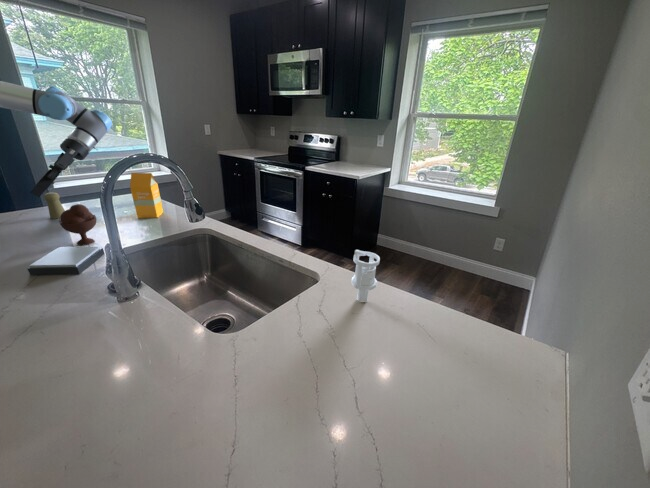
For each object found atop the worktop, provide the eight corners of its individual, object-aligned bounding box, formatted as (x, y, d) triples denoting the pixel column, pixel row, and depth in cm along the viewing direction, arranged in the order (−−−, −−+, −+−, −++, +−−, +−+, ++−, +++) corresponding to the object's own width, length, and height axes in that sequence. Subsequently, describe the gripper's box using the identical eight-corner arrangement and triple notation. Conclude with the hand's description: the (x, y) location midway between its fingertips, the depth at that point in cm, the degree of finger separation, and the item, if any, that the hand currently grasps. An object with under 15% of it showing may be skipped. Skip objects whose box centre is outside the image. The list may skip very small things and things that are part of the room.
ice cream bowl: (99, 234, 120) (88, 198, 113) (105, 243, 113) (94, 205, 106) (65, 241, 113) (52, 203, 107) (70, 251, 106) (55, 211, 99)
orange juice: (144, 212, 145) (135, 171, 136) (163, 212, 146) (155, 171, 137) (137, 217, 138) (126, 174, 129) (157, 217, 139) (148, 175, 130)
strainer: (357, 290, 90) (362, 245, 84) (378, 298, 87) (384, 252, 80) (345, 300, 85) (349, 254, 79) (367, 310, 81) (372, 262, 75)
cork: (46, 218, 134) (37, 194, 129) (59, 213, 139) (51, 190, 134) (58, 219, 133) (49, 195, 128) (70, 215, 138) (62, 191, 133)
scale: (29, 275, 91) (25, 266, 90) (61, 254, 104) (58, 246, 102) (79, 274, 93) (76, 265, 91) (104, 253, 105) (102, 245, 104)
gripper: (99, 143, 102) (58, 191, 93) (81, 161, 118) (44, 203, 109) (74, 126, 97) (29, 175, 88) (59, 147, 113) (19, 191, 104)
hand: (37, 191), depth 98 cm, fingers open, 13 cm apart
